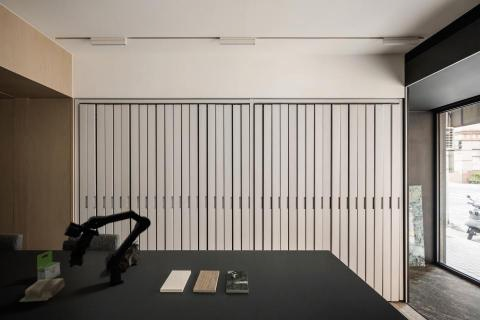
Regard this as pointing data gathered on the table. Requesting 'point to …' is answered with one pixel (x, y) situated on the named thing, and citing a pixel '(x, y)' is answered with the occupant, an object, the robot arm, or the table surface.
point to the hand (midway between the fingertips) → (70, 266)
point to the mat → (33, 299)
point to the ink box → (47, 267)
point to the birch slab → (44, 288)
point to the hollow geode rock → (131, 256)
